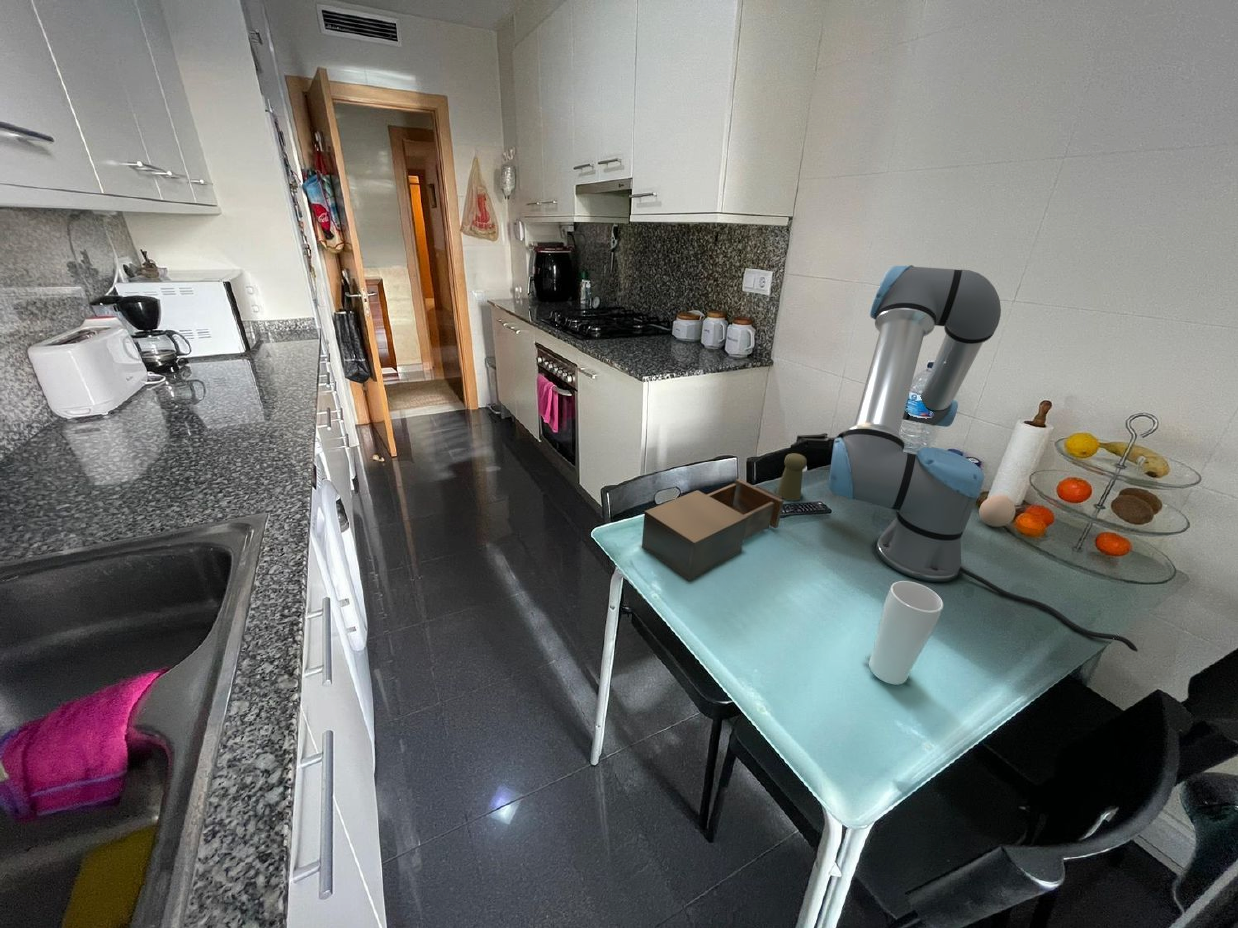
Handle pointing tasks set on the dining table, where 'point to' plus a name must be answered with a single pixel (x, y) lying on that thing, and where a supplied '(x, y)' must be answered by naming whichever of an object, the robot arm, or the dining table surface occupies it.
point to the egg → (997, 510)
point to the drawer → (751, 505)
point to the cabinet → (693, 533)
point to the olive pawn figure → (792, 477)
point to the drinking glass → (904, 630)
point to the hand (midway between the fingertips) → (813, 459)
